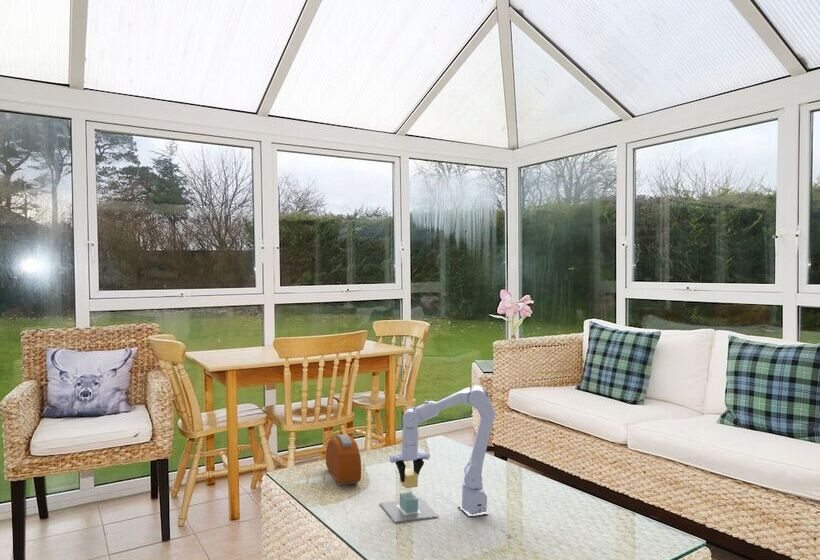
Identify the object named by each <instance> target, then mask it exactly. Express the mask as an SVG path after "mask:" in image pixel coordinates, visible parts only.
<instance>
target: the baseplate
mask: <svg viewBox="0 0 820 560" xmlns="http://www.w3.org/2000/svg"><path fill="white" fill-rule="evenodd" d="M417 498H418V512H412V513H405V511H404V510H403V509H402V508H401V507H400V499H399V500H391V501H390V500H389V501H383V502H379V505H380V506H381V508H382V509H383V510H384V512H385V513H386V515H388V517H389V518H390V519H391V520H392V522H393V523H394V524H401V523H408V522H414V521H415V522H416V521H421V519H423V520H426V519H425V518H430V517H435V516H438V517H439V515H438V514H437V513H436V511H435V510H434V509H432V507H431V506H430V505H429V504H428V503H427V502H426V501H425V500H424V499H423V498H422V497H417Z"/></svg>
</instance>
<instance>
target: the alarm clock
mask: <svg viewBox="0 0 820 560" xmlns="http://www.w3.org/2000/svg"><path fill="white" fill-rule="evenodd" d="M325 466H326V467H327V469H328V470H329V471H328V472H330V474H331V475H332V476H333V478H334V479H335V481H336V482H337V485H338V486H342V484H343V485H352V484H358V482H360V481H361V479H362V459H361V454H360V450H359V446H358V443H357V442H356V440H355V438H353V437H352V436H348V434H336V435H335V437H332V438H330V439H329V440H328V442H327V445H326V450H325Z"/></svg>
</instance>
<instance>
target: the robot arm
mask: <svg viewBox="0 0 820 560" xmlns="http://www.w3.org/2000/svg"><path fill="white" fill-rule="evenodd" d="M459 404H461V405H465V406H469V405H470V406H472V408H474V410H477V412H478V413H479V415H480V418H479V423H478V426H477V431H476V435H475V439H474V443H473V447H472V451H471V454H470V457H469V459H468V462H467V464H466V465H465V467H464V468H463V473H464V478H463V482H462V490H461V492H462V494H461V505H462V508H463V509H464V510H466V511H468V512H469V513H470V514H472V515H473V514H477V513H481V512H486V511H487V510H488V508H487V507H488V496H487V494H486V493H485V490H484V485H483V476H482V472H483V468H484V467H483V466H484V460H485V457H486V453H487V448H488V444H489V440H490V438H491V437H490V436H491V433H492V428H493V423H494V421H495V416H496V413H495V409H494V407H493V404H492V400H491V399H490V396H489V393H488V391H486V389H485V388H484V387H483V386H482V385H479V384H475V385H472V386H470V387H466V388H463V389H462V390H460V391H457V392H455V393H453V394H451V395H448V396H446V397H445V398H443V399H440V400H438V401H434V400H425V401H424V403H423V404H420V405H418V406H413V407H412V408H407V409H406V410H405V411H404V414H403V416H402V424H403V426H402V434H401V436H402V437H401V438H402V440H401V441H402V443H401V453H399V454H395V455H390V456H389V462H390V464H394V463H395V465H396V467H397V469H398V474H399V481H400V480H401V481H402V482H404V479H405V469H406V467H407V465H406V464H405V462H408V461H409V462H411V461H412V463H413V465H412V466H413V470H414V471H415V472H416V473H417V474H418V476H420V472H421V469H422V468H423V466H424V465H425V461H424V460H430V454H429V453H428V452H418V451H419V423H423V422H426V421H427V420H429V419H430V420H431V419H433V418H435V417H437V416H438V415H439V413H440V411H443V410H445V409H447V408H448V409H449V408H450V407H453V406H455V405H459ZM487 512H488V511H487Z"/></svg>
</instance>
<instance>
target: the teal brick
mask: <svg viewBox="0 0 820 560" xmlns="http://www.w3.org/2000/svg"><path fill="white" fill-rule="evenodd" d="M418 498H419V497H418V496H416V495H415V494H414V493H413V492H412V491H410V492H409V491H408V492H400V493H399V500H400V507H401V508H402V509H403V510H404V511H405V513H412V512H418Z"/></svg>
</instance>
